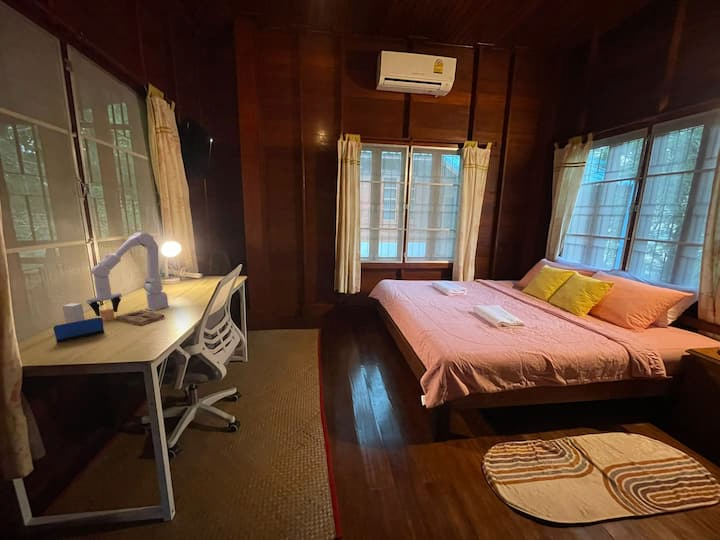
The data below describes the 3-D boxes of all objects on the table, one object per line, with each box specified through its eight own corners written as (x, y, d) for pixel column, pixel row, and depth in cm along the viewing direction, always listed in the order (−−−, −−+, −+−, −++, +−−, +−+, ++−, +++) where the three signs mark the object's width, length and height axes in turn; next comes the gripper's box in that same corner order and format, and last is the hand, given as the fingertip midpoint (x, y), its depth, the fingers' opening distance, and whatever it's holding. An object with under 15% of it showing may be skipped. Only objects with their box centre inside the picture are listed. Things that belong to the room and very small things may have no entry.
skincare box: (86, 327, 147) (82, 303, 145) (77, 330, 143) (73, 306, 141) (75, 326, 148) (70, 303, 146) (66, 330, 144) (61, 305, 142)
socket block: (141, 313, 168) (141, 309, 168) (164, 318, 160) (164, 314, 159) (116, 320, 157) (116, 316, 157) (140, 325, 149) (139, 322, 148)
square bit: (110, 317, 161) (108, 308, 161) (114, 318, 160) (113, 309, 159) (101, 319, 158) (100, 310, 157) (105, 320, 156) (104, 311, 155)
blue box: (102, 328, 146) (99, 310, 144) (105, 336, 137) (102, 316, 135) (57, 337, 135) (53, 318, 134) (56, 347, 126) (52, 325, 124)
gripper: (114, 284, 164) (118, 309, 166) (81, 290, 151) (85, 316, 153) (122, 286, 161) (125, 310, 163) (89, 292, 148) (93, 318, 151)
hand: (107, 313), depth 158 cm, fingers open, 7 cm apart
